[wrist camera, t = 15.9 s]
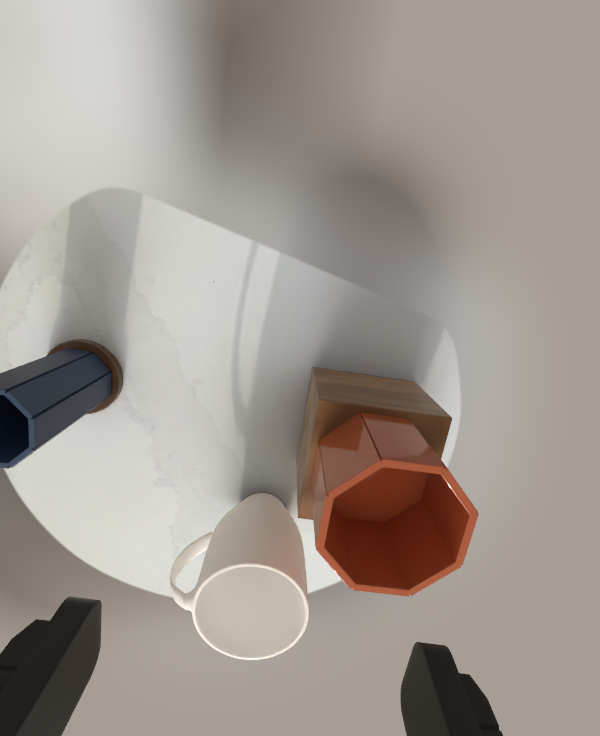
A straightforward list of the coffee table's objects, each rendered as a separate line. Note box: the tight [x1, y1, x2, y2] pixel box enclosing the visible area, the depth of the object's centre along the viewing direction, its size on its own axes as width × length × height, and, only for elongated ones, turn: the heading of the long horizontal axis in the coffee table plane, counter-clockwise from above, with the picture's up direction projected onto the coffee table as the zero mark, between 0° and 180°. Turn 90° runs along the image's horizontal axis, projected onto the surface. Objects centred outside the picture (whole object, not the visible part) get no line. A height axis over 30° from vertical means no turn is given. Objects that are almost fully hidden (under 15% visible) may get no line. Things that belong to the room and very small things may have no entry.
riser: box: [297, 367, 452, 520], centre depth 34 cm, size 10×10×9 cm
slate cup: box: [0, 348, 112, 468], centre depth 30 cm, size 6×6×11 cm
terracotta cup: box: [311, 412, 478, 596], centre depth 26 cm, size 9×9×7 cm
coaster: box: [47, 340, 123, 414], centre depth 36 cm, size 7×7×1 cm
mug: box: [170, 493, 309, 660], centre depth 35 cm, size 12×9×12 cm
